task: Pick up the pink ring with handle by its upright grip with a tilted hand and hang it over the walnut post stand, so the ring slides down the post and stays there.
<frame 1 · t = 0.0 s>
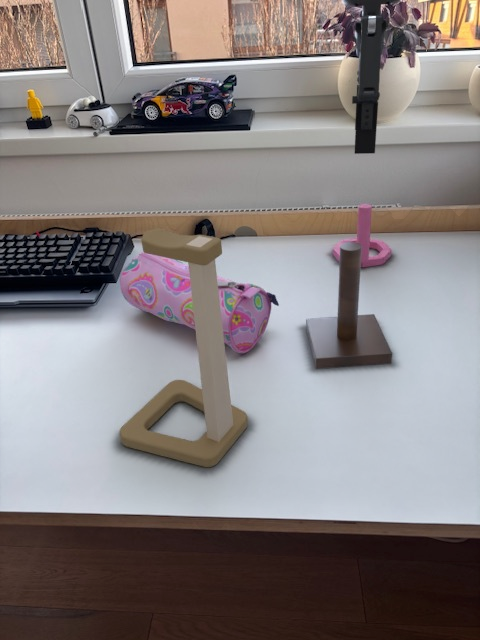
hand: (364, 140, 80), 19 cm above the table, tool pointing down, fingers open, 13 cm apart
stand: (346, 344, 68), on the table
pink ring with handle: (361, 255, 90), on the table
pencil case: (198, 326, 75), on the table
headphone stand: (188, 429, 57), on the table
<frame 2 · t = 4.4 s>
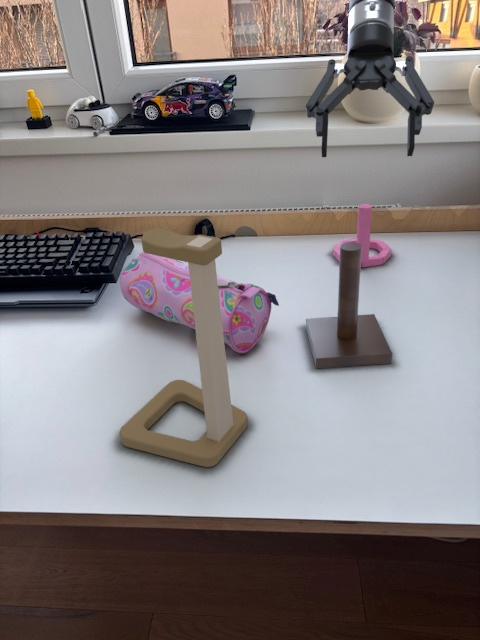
hand: (366, 152, 87), 15 cm above the table, tool tilted 45°, fingers open, 13 cm apart
nothing on the table moved.
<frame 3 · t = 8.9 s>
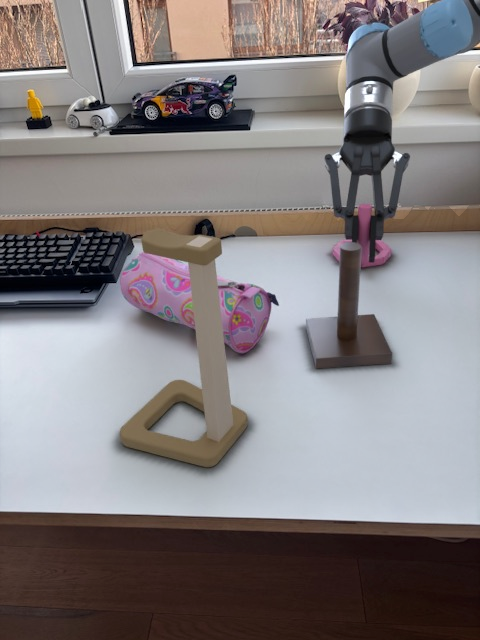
hand: (362, 259, 82), 3 cm above the table, tool tilted 45°, fingers closed on pink ring with handle, 2 cm apart
pink ring with handle: (361, 255, 90), on the table, touching gripper
everything else where it was.
when the fingers open (12 cm above the table, at t = 16.5 s): pink ring with handle drops 7 cm, resting on stand.
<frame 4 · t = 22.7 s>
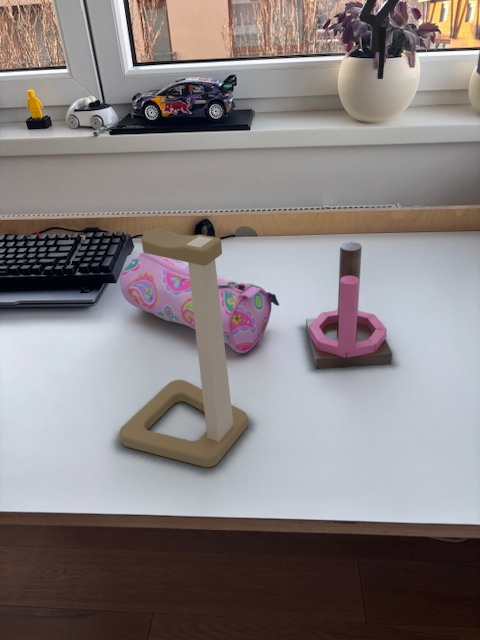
hand: (429, 75, 76), 27 cm above the table, tool pointing down, fingers open, 13 cm apart
pink ring with handle: (346, 335, 67), point 1 cm above the table, touching stand
everything else where it was.
at the end: pink ring with handle 0.2 cm off-centre on the stand, point 1.5 cm above the stand's base; the gripper is holding nothing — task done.
